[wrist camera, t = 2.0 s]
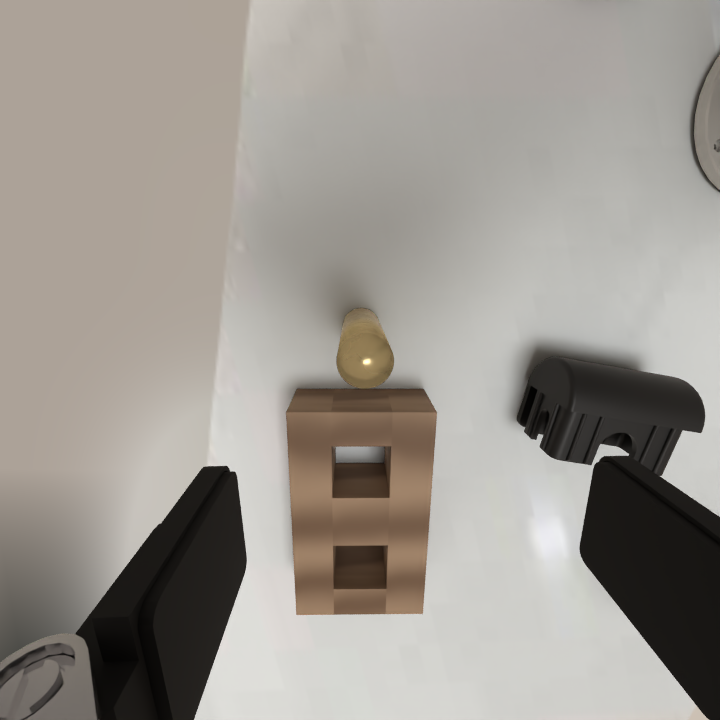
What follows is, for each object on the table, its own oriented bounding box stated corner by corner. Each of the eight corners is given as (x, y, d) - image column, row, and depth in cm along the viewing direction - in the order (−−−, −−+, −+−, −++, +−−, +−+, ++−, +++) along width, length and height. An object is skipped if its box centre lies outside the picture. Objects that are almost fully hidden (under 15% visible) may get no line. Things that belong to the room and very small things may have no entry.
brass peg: (342, 307, 28) (336, 333, 18) (379, 308, 28) (394, 333, 18) (343, 343, 29) (336, 388, 19) (378, 344, 29) (392, 388, 19)
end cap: (643, 365, 30) (723, 393, 24) (613, 438, 32) (680, 482, 26) (533, 346, 30) (584, 369, 23) (509, 421, 31) (550, 462, 25)
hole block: (296, 388, 30) (286, 412, 25) (423, 389, 30) (437, 412, 26) (304, 566, 35) (296, 614, 30) (413, 566, 35) (422, 613, 31)
